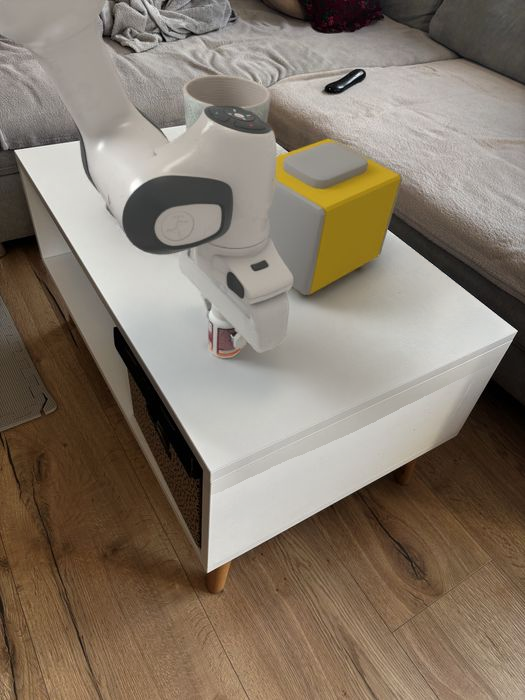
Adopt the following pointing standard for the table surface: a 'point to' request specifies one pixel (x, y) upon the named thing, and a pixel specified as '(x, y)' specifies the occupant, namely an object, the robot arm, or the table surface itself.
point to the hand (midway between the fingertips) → (225, 331)
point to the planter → (224, 95)
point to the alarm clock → (329, 211)
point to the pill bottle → (220, 335)
